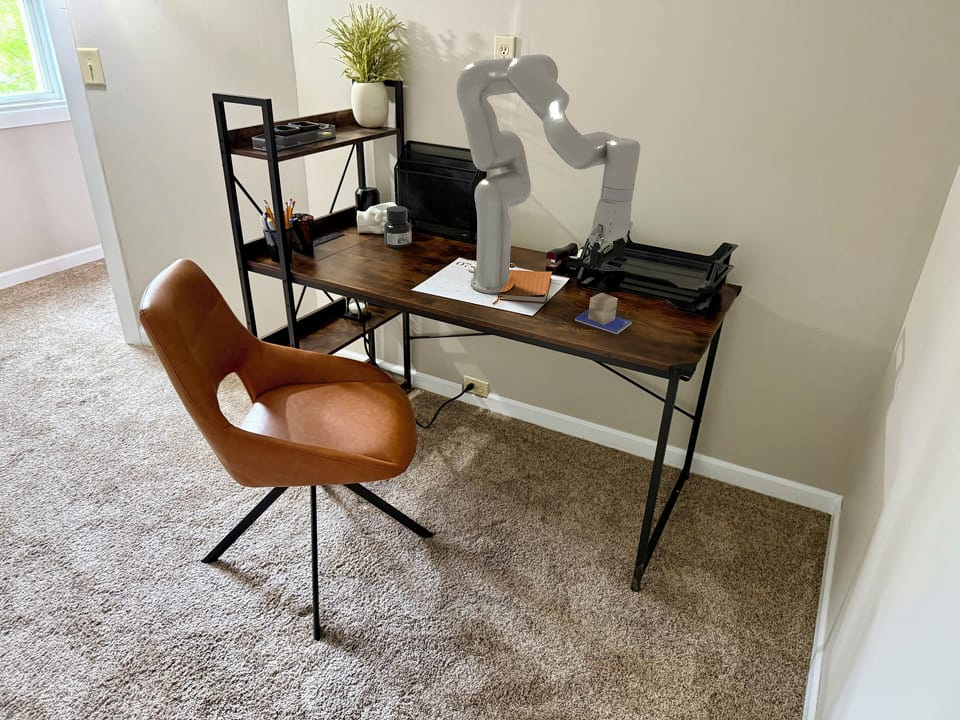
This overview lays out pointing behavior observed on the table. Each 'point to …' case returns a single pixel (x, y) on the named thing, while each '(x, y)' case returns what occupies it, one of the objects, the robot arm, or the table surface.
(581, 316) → the hard drive
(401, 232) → the ink bottle
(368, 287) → the table surface
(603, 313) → the beech block
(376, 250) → the table surface
